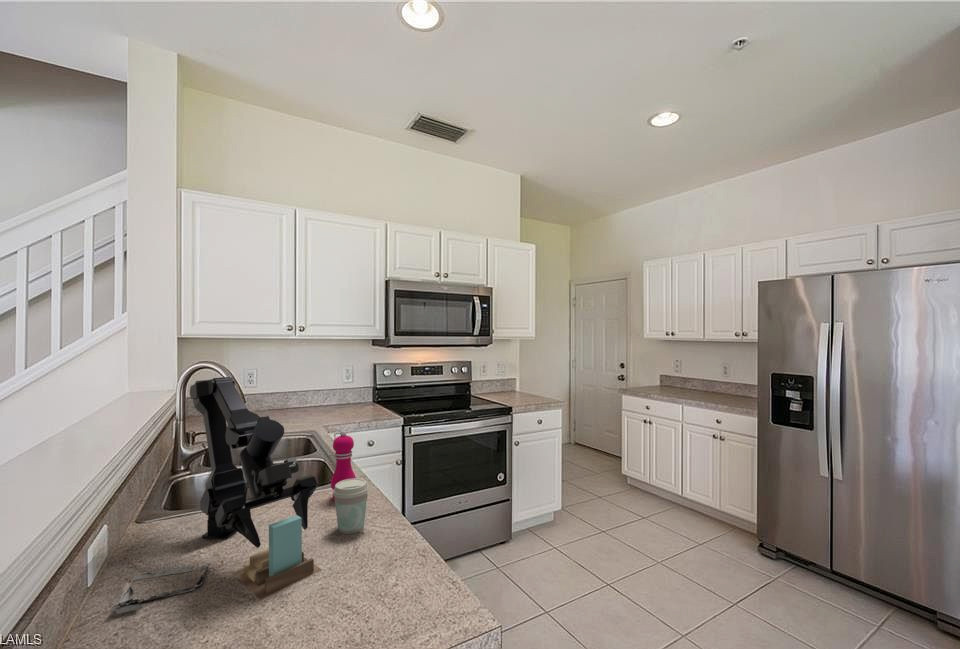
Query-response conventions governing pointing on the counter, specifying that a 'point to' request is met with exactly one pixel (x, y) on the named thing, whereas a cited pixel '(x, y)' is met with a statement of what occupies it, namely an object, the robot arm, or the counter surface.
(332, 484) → the pepper mill
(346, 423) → the counter surface
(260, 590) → the walnut rack
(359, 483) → the coffee cup
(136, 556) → the counter surface
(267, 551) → the offcut stack
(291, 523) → the turquoise upright pillar
